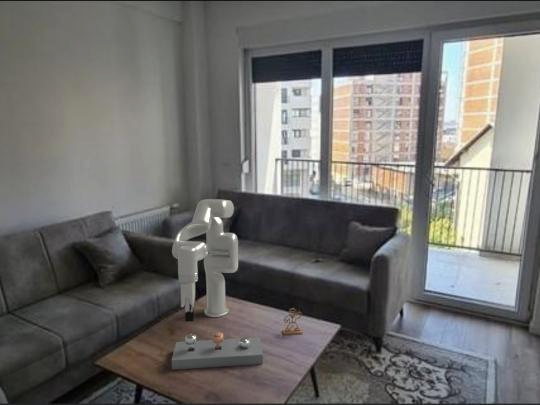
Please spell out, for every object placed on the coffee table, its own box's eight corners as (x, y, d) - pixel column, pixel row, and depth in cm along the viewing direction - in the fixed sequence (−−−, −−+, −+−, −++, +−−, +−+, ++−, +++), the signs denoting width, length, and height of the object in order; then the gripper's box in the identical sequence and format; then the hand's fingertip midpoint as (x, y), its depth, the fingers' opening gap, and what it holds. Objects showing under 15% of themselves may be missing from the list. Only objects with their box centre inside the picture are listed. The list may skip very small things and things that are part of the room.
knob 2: (239, 350, 166) (239, 337, 165) (249, 349, 167) (249, 336, 166) (239, 356, 162) (239, 342, 161) (250, 355, 163) (250, 341, 162)
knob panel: (176, 350, 169) (176, 342, 168) (260, 345, 172) (260, 337, 172) (172, 369, 155) (171, 360, 154) (262, 363, 159) (262, 354, 158)
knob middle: (212, 345, 165) (212, 331, 164) (223, 344, 165) (223, 331, 164) (212, 350, 160) (212, 337, 160) (223, 350, 161) (223, 336, 160)
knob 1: (186, 346, 164) (185, 333, 163) (197, 346, 164) (196, 332, 163) (185, 352, 159) (184, 338, 158) (196, 351, 160) (195, 338, 159)
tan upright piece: (283, 335, 181) (283, 310, 179) (282, 331, 185) (282, 307, 183) (302, 334, 182) (302, 309, 180) (301, 330, 186) (301, 306, 184)
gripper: (180, 271, 163) (182, 313, 166) (176, 283, 149) (177, 329, 151) (199, 270, 164) (200, 312, 167) (196, 283, 150) (197, 328, 152)
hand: (189, 320), depth 159 cm, fingers closed
